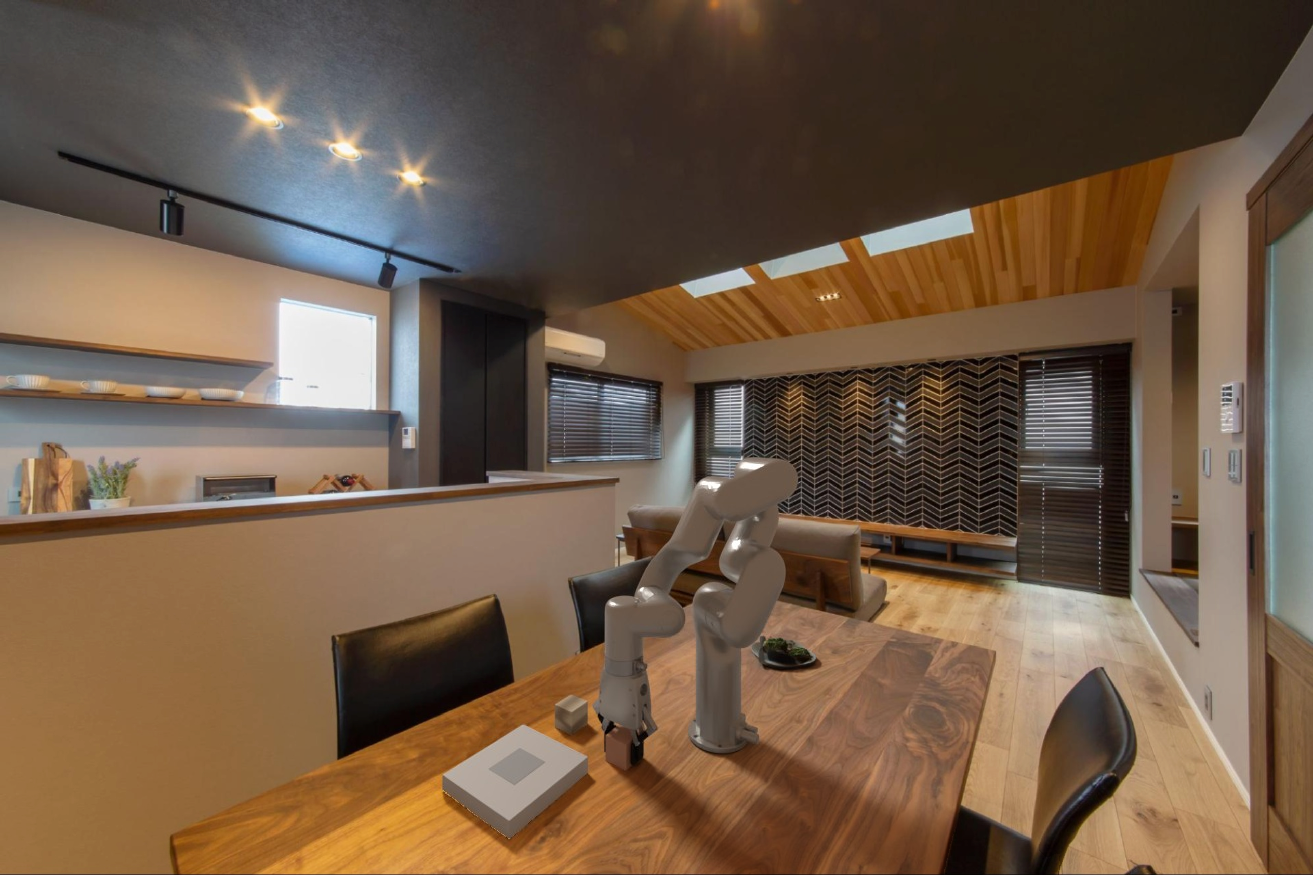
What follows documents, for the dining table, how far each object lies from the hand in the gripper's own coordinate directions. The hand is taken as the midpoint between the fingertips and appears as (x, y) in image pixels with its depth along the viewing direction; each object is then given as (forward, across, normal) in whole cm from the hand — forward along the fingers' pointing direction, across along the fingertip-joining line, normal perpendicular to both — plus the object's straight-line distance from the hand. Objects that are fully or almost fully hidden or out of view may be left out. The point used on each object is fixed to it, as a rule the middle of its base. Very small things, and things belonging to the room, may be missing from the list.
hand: (623, 754), depth 92 cm
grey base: (+1, +12, +16) cm, 20 cm away
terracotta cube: (+1, 0, 0) cm, 1 cm away
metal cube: (+1, +16, -2) cm, 16 cm away
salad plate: (+1, -11, -60) cm, 61 cm away
